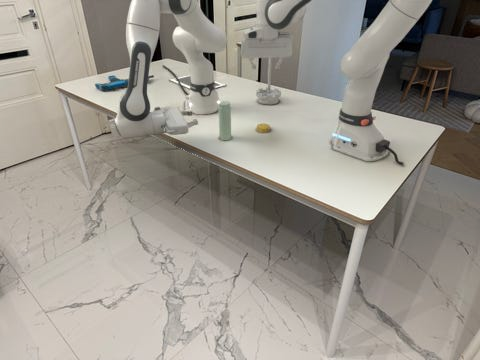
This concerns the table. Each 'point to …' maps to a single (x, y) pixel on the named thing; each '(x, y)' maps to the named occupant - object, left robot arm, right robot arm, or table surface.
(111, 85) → the submachine gun
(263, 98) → the flag stand
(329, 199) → the table surface
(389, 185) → the table surface
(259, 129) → the lid
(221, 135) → the pale green cylinder
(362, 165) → the table surface
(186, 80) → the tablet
